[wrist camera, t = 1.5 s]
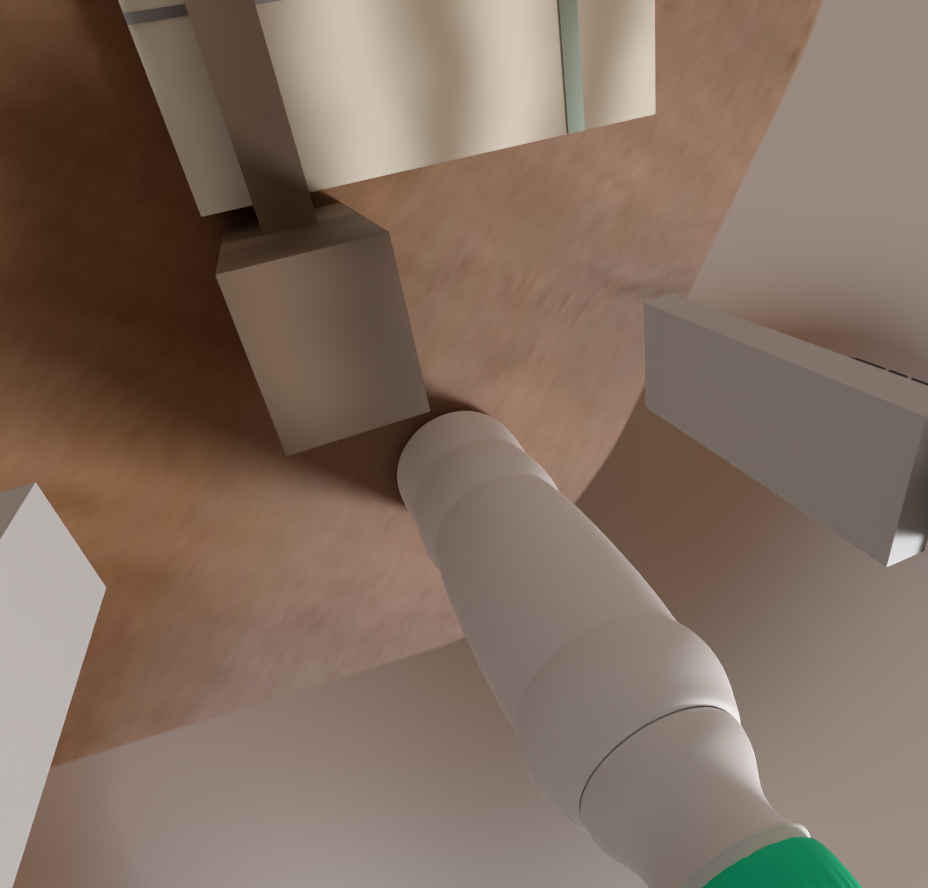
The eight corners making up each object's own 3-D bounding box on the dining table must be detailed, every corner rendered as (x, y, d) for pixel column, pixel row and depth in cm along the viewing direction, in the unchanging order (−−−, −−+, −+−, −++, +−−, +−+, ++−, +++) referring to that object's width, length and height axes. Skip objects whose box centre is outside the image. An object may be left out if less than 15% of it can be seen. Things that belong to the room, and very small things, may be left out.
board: (204, 211, 24) (201, 216, 22) (64, -156, 18) (45, -187, 17) (630, 115, 28) (656, 113, 26) (622, -210, 22) (654, -240, 21)
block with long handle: (272, 359, 27) (286, 456, 19) (136, -8, 20) (64, -112, 12) (374, 331, 28) (430, 411, 20) (278, -29, 21) (304, -139, 13)
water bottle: (377, 505, 33) (619, 1149, 12) (418, 392, 31) (808, 940, 10) (484, 523, 36) (826, 1057, 15) (529, 421, 34) (1006, 882, 13)
